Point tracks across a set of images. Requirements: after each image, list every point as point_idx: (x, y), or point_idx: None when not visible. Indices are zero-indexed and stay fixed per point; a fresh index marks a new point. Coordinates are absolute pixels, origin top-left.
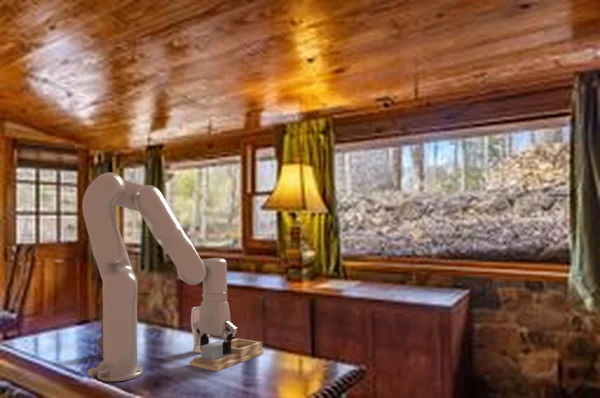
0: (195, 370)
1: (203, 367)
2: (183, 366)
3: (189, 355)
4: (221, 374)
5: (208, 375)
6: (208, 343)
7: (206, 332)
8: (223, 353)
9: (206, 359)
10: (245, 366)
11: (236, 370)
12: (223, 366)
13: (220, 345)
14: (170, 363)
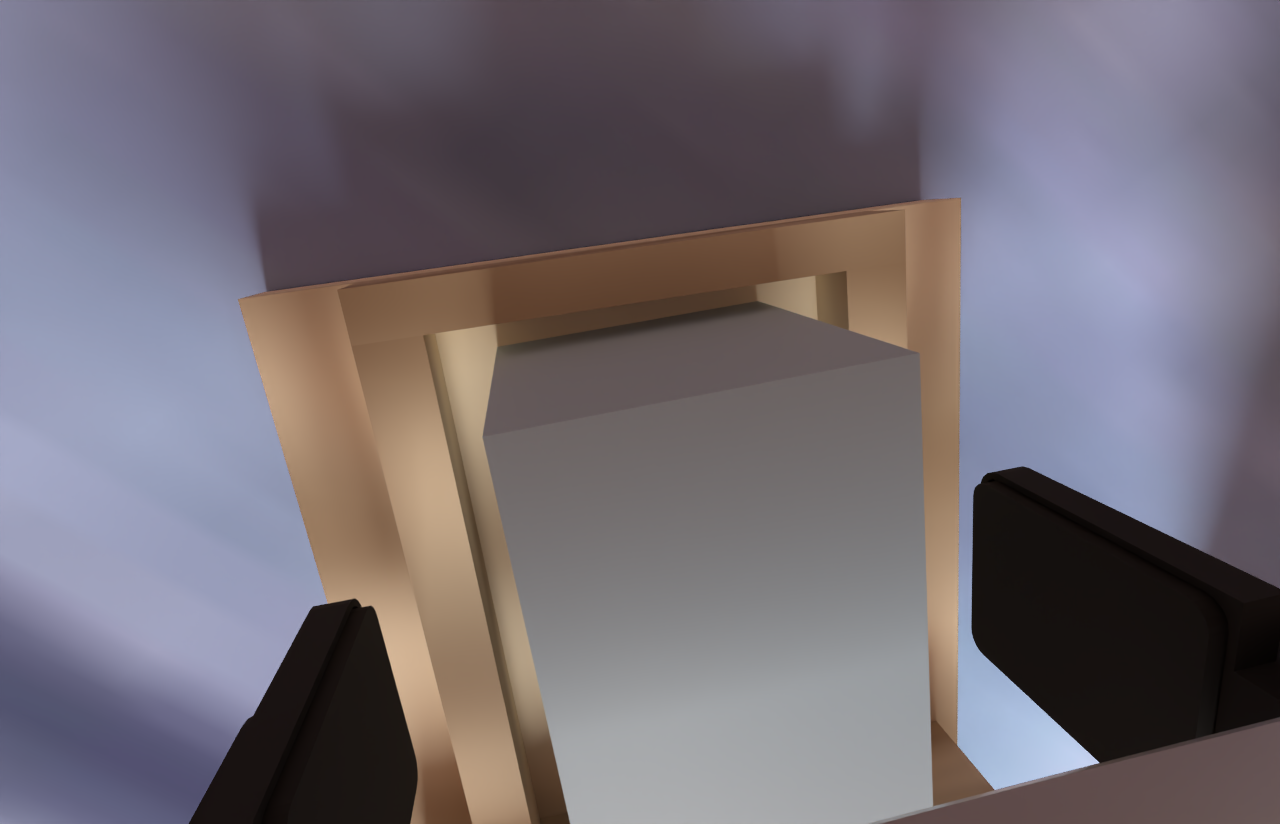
0: (617, 70)
1: (611, 244)
2: (958, 92)
3: (1256, 500)
4: (31, 220)
5: (153, 13)
6: (1047, 705)
7: (1177, 797)
8: (325, 611)
9: (637, 333)
10: (177, 740)
11: (72, 536)
12: (292, 449)
13: (557, 761)
14: (1241, 64)
